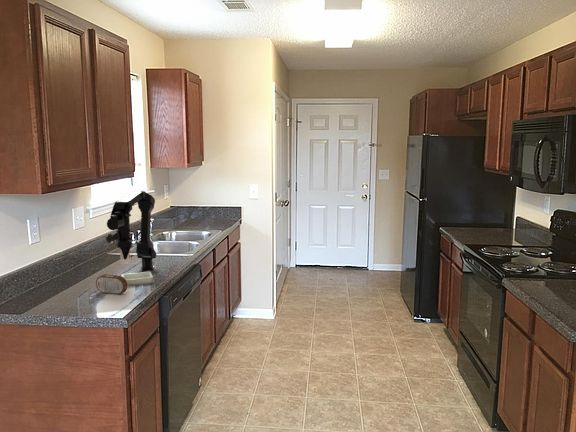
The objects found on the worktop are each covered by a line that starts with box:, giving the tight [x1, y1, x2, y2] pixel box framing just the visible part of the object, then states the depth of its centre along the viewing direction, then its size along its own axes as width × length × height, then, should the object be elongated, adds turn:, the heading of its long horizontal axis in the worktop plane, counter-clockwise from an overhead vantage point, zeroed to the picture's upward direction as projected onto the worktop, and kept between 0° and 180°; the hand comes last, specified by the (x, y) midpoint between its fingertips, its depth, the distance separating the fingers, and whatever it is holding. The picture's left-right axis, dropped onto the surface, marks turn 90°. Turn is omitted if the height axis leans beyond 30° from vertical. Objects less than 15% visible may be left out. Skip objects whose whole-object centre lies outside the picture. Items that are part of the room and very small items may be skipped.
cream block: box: [119, 248, 131, 265], centre depth 231 cm, size 4×4×9 cm
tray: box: [120, 271, 154, 287], centre depth 231 cm, size 12×14×3 cm
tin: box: [95, 273, 129, 295], centre depth 212 cm, size 15×3×8 cm, turn 74°
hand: (125, 258), depth 231 cm, fingers closed on cream block, 4 cm apart
